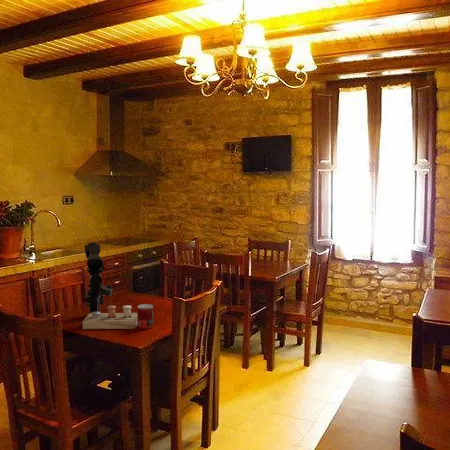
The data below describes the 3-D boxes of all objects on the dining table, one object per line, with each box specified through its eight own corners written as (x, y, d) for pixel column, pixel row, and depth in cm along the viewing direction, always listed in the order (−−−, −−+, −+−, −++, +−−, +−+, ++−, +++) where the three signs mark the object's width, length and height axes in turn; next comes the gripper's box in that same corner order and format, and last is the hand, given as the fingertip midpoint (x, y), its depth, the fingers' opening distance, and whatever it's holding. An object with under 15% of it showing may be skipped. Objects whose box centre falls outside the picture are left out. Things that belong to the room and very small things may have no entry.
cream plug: (123, 316, 237) (123, 305, 237) (132, 316, 237) (132, 305, 237) (121, 319, 232) (121, 307, 232) (130, 318, 233) (130, 307, 232)
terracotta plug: (108, 316, 237) (107, 305, 236) (117, 316, 237) (116, 305, 236) (106, 319, 232) (105, 308, 232) (115, 319, 232) (115, 307, 232)
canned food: (150, 330, 226) (149, 308, 225) (135, 328, 228) (134, 307, 227) (155, 325, 234) (155, 304, 233) (140, 324, 235) (140, 303, 234)
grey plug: (92, 322, 237) (92, 311, 236) (101, 322, 237) (101, 311, 236) (90, 325, 232) (90, 314, 232) (99, 325, 232) (99, 313, 232)
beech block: (89, 320, 241) (89, 313, 241) (139, 320, 242) (138, 312, 242) (82, 329, 227) (82, 321, 227) (134, 328, 228) (134, 320, 228)
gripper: (107, 286, 224) (107, 316, 225) (114, 278, 242) (115, 306, 243) (84, 286, 223) (85, 317, 224) (93, 278, 242) (94, 307, 243)
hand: (95, 311), depth 234 cm, fingers closed
